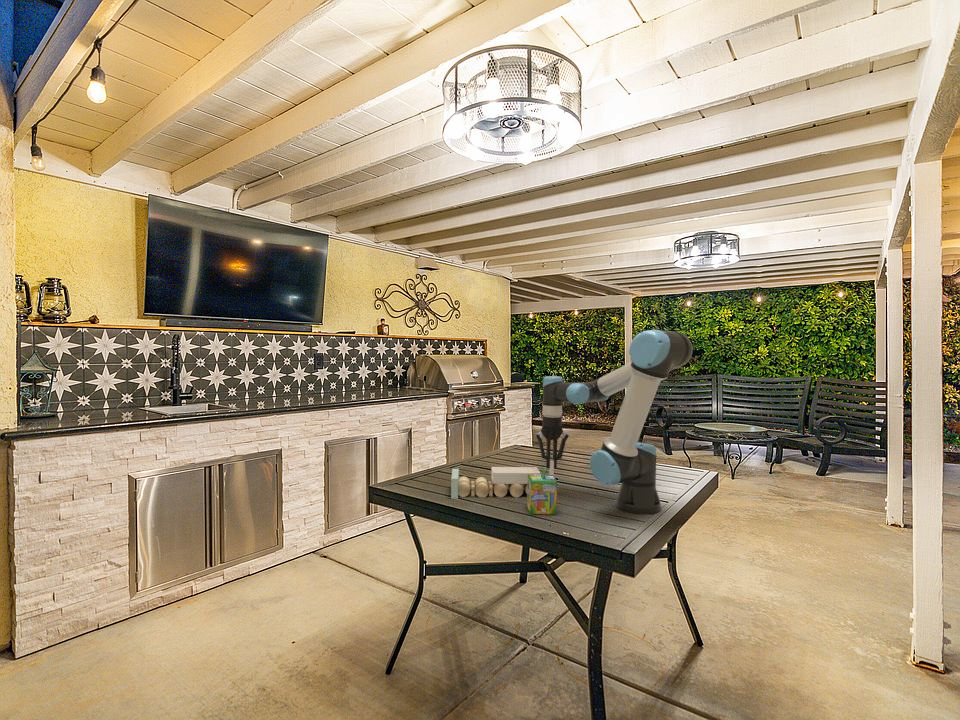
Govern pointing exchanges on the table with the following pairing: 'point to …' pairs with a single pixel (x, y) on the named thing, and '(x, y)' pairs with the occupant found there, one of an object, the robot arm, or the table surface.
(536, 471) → the slab
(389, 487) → the table surface
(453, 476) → the board
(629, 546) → the table surface
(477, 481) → the roller
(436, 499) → the table surface
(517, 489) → the roller bed
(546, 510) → the chalk box
